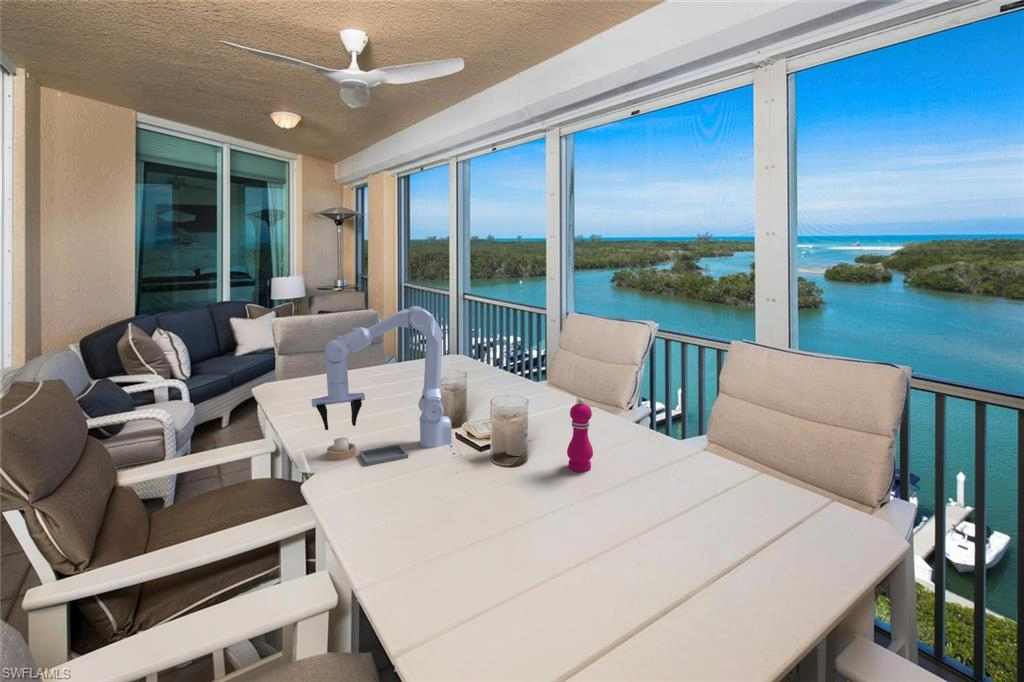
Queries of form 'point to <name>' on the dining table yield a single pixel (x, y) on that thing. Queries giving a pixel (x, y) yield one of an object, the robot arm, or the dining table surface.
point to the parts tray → (383, 455)
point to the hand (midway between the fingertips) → (340, 426)
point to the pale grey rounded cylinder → (341, 445)
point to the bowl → (341, 453)
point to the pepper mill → (580, 438)
